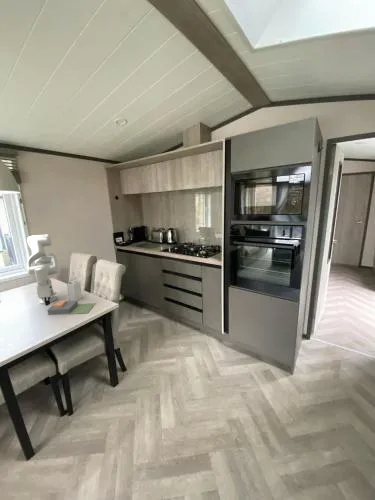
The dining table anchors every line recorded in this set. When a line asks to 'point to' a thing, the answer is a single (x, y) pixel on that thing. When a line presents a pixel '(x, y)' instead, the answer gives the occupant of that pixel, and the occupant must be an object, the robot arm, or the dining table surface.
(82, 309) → the mat
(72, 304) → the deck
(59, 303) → the tile
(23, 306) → the dining table surface
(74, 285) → the milk carton
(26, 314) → the dining table surface
